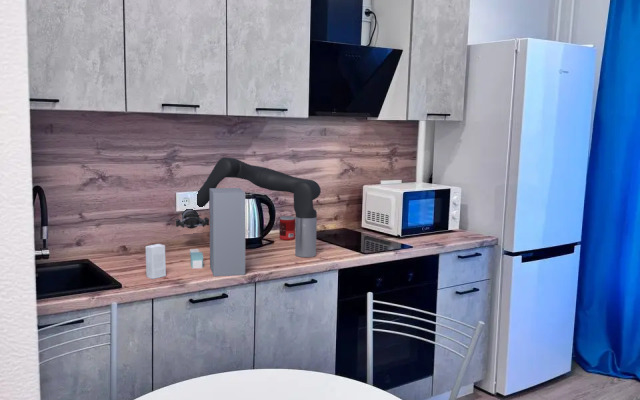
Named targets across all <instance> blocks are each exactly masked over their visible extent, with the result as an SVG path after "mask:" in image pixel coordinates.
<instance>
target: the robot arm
mask: <svg viewBox="0 0 640 400" xmlns="http://www.w3.org/2000/svg"><path fill="white" fill-rule="evenodd" d="M226 178H236V179H241V180H246V181H248V182H250V183H252V184H253V185H255V186H257V187H259V188H261V189H264V190H269V191H273V192H283V193H291V194H293V210H294V212H295V239H294V240H295V241H294V243H295V244H294V248H295V249H294V256H296V257H299V258H313V257H316V255H317V220H318V219H317V215H318V213H317V210H316V209H315V208H314V200H316V199H318V198H319V196H320V195H321V190H322V189H321V186H320V185H319V183H318V182H317V181H315V180H312V179H308V178H301V177H296V176H292V175H289V174H287V173H284V172H282V171H278V170H275V169H271V168H269V167H263V166H259V165H252V164H249V163H247V162H245V161H242V160H239V159H238V158H234V157H227V156H226V157H222V158H220V159H219V160H217V162H216V164H215V165H214V166H213V169H212V170H211V172H210V174H209V175H208V177H207V178H206V180H205V182H204V183H203V185H202V186H201V187H200V188H199V189H200V190H199V189H198V190H199V191H198V190H197V192H198V194H197V205H198V206H199V207H203V206H204V207H205V206H206V205H207V204H208V203H210V188H218V185H219V184H220V183H221V182H222V181H223V180H224V179H226ZM205 226H210V218H208V217H204V218H201V217H200V216H199V215H198V213H197V212H196V211H195V210H193V209H186V210H185V211H184V212H183V213H182V218H181V219H180V218H176V219H175V227H180V228H184V229H185V228H187V229H190V230H191V229H195V228H198V227H202V228H205Z"/></svg>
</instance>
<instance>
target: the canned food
mask: <svg viewBox="0 0 640 400" xmlns="http://www.w3.org/2000/svg"><path fill="white" fill-rule="evenodd" d="M295 230H296V216H292V215H291V216H289V215H283V216H280V217H279V234H278V235H279V240H281V241H288V242H289V241H293V240H295Z"/></svg>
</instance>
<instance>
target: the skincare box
mask: <svg viewBox="0 0 640 400" xmlns="http://www.w3.org/2000/svg"><path fill="white" fill-rule="evenodd" d="M166 263H167V262H166V245H165V244H162V243H156V244H151V245H146V246H145V267H146V268H145V270H146V272H145V273H146V278H147V277H148V279H151V280H156V279H159V278H163V277H166V276H167V274H166V273H167V270H166V268H167V267H166Z"/></svg>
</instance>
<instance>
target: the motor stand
mask: <svg viewBox="0 0 640 400" xmlns="http://www.w3.org/2000/svg"><path fill="white" fill-rule="evenodd" d="M209 269H210V271H211V273H213V274H212V277H214V276H215V277H230V276H231V277H232V276H245V275H246V192H245V191H244V190H243V189H242V188H241V187H220V188H219V187H216V188H210V201H209Z"/></svg>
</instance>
